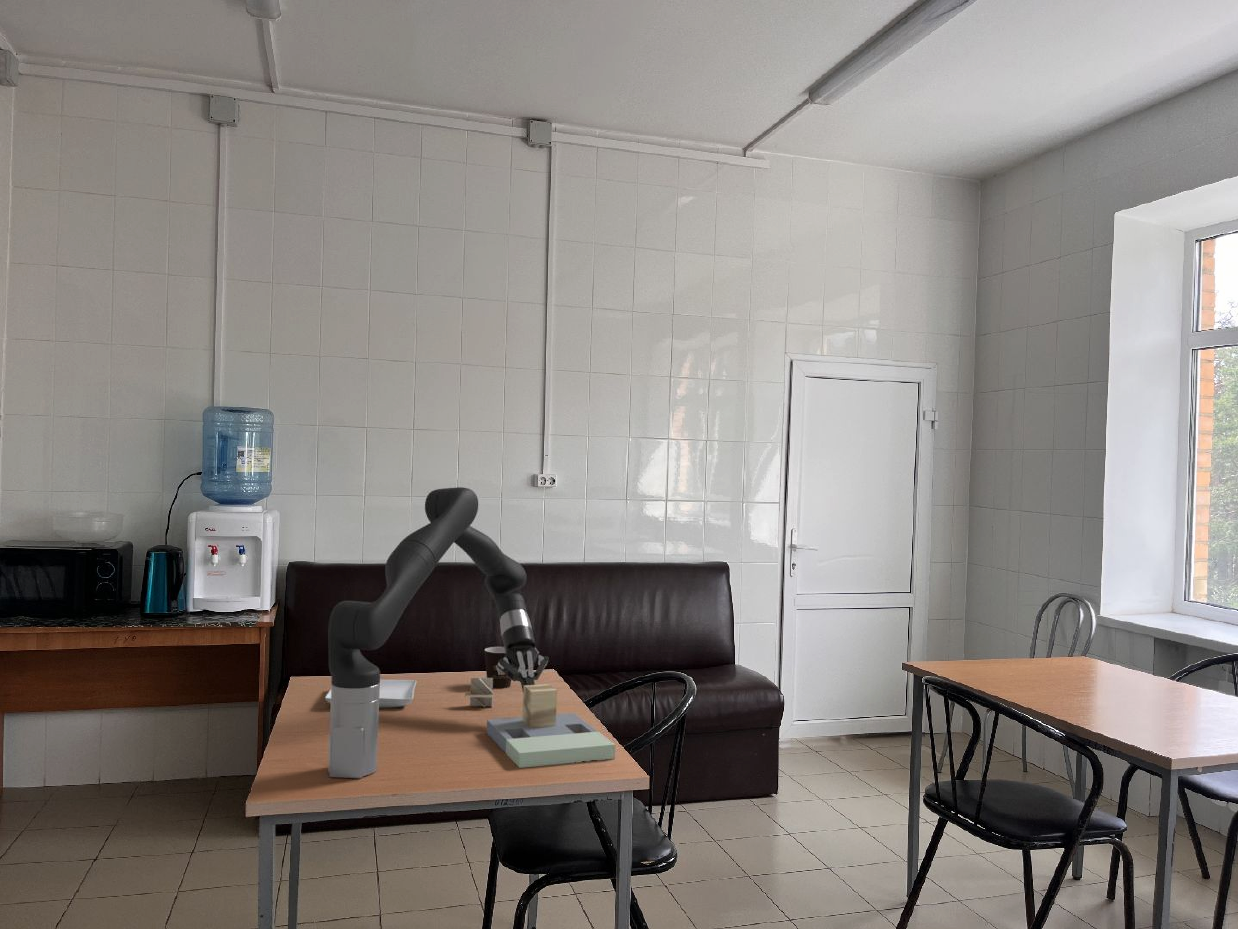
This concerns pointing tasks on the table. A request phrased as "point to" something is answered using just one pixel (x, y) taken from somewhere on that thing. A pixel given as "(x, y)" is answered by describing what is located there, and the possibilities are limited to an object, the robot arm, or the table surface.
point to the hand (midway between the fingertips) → (530, 694)
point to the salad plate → (392, 693)
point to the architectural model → (481, 692)
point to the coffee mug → (496, 667)
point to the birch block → (539, 705)
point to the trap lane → (550, 741)
